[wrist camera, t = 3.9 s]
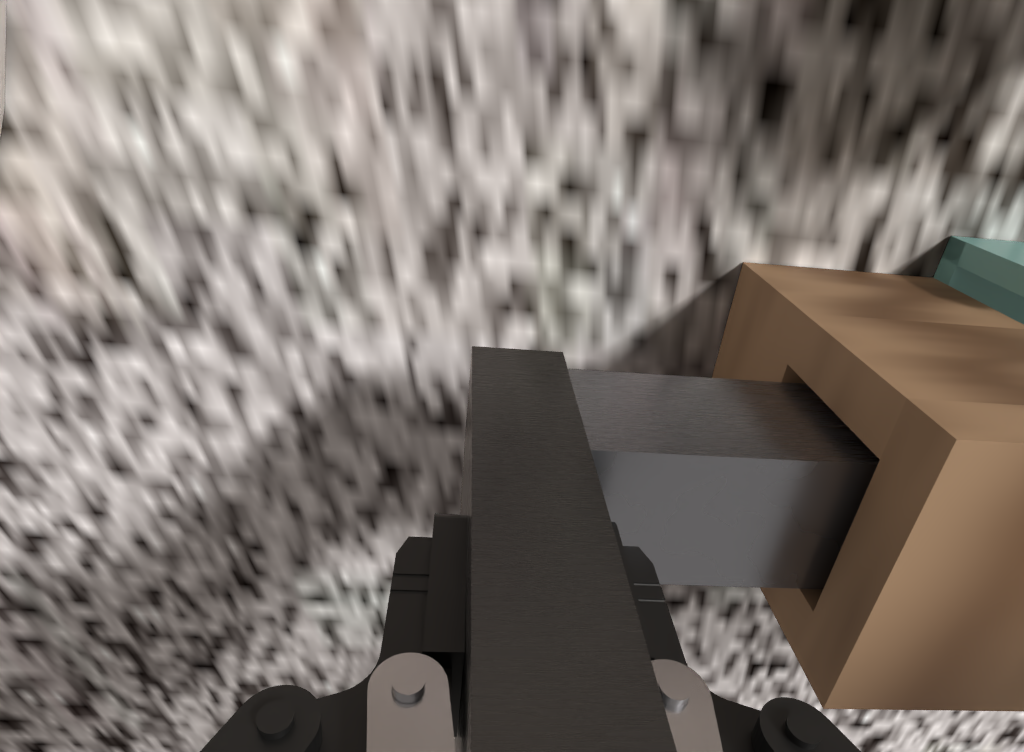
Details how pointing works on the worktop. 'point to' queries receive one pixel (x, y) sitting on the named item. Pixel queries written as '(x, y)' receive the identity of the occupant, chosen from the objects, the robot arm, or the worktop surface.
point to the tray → (986, 272)
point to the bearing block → (903, 483)
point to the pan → (2, 58)
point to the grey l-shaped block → (625, 531)
